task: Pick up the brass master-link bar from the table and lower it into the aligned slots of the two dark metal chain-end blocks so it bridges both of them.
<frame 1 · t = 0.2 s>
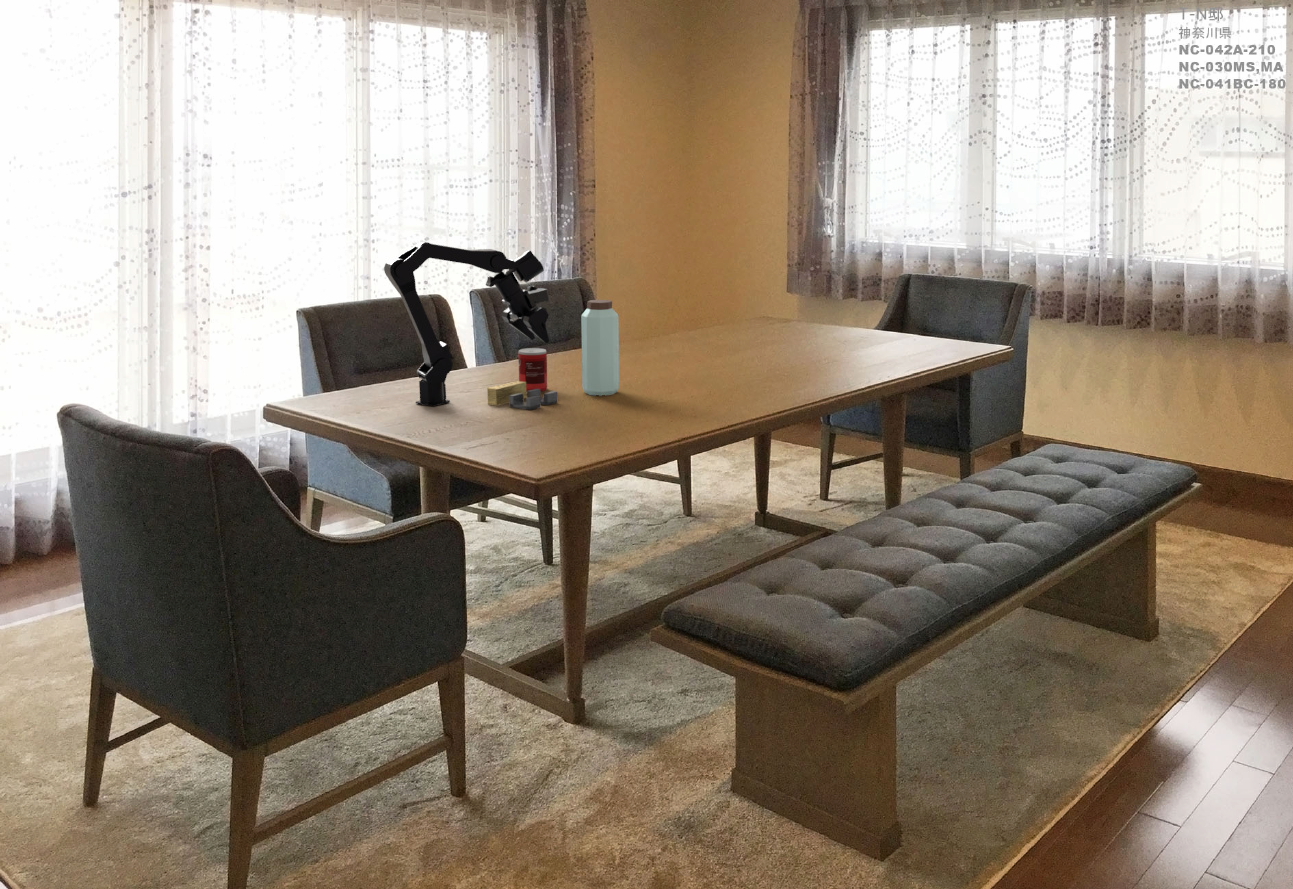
hand: (540, 340, 335), 14 cm above the table, tool tilted 30°, fingers open, 9 cm apart
canned food: (533, 390, 344), on the table
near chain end: (525, 407, 321), on the table
water bottle: (600, 393, 339), on the table
master link: (507, 401, 329), on the table
far chain end: (542, 402, 327), on the table
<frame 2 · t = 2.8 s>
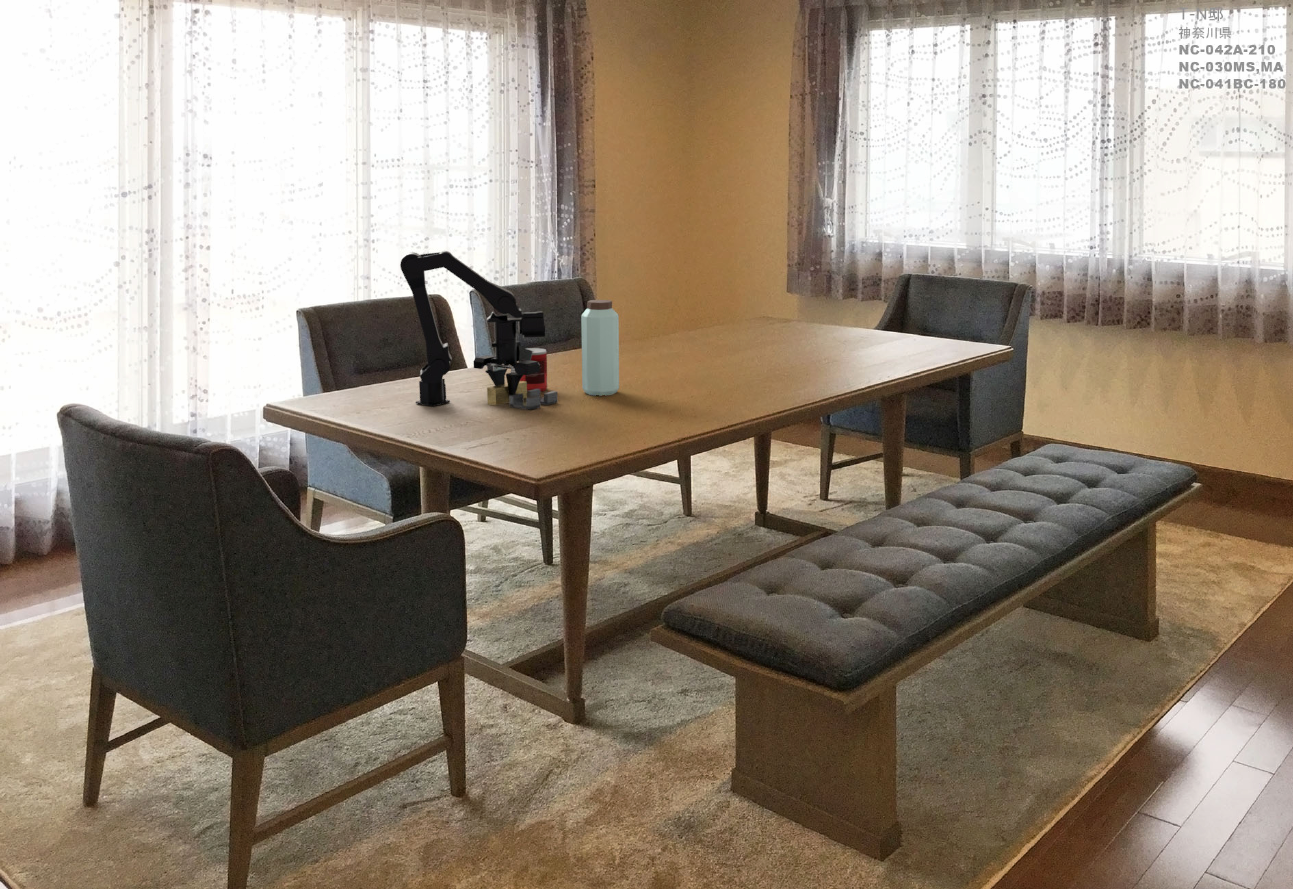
hand: (507, 397, 329), 1 cm above the table, tool pointing down, fingers closed on master link, 3 cm apart
master link: (507, 401, 329), on the table, touching gripper
everything else where it was.
when the fingers open (4 cm above the table, at t = 6.1 s): master link drops 2 cm, resting on far chain end, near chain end.
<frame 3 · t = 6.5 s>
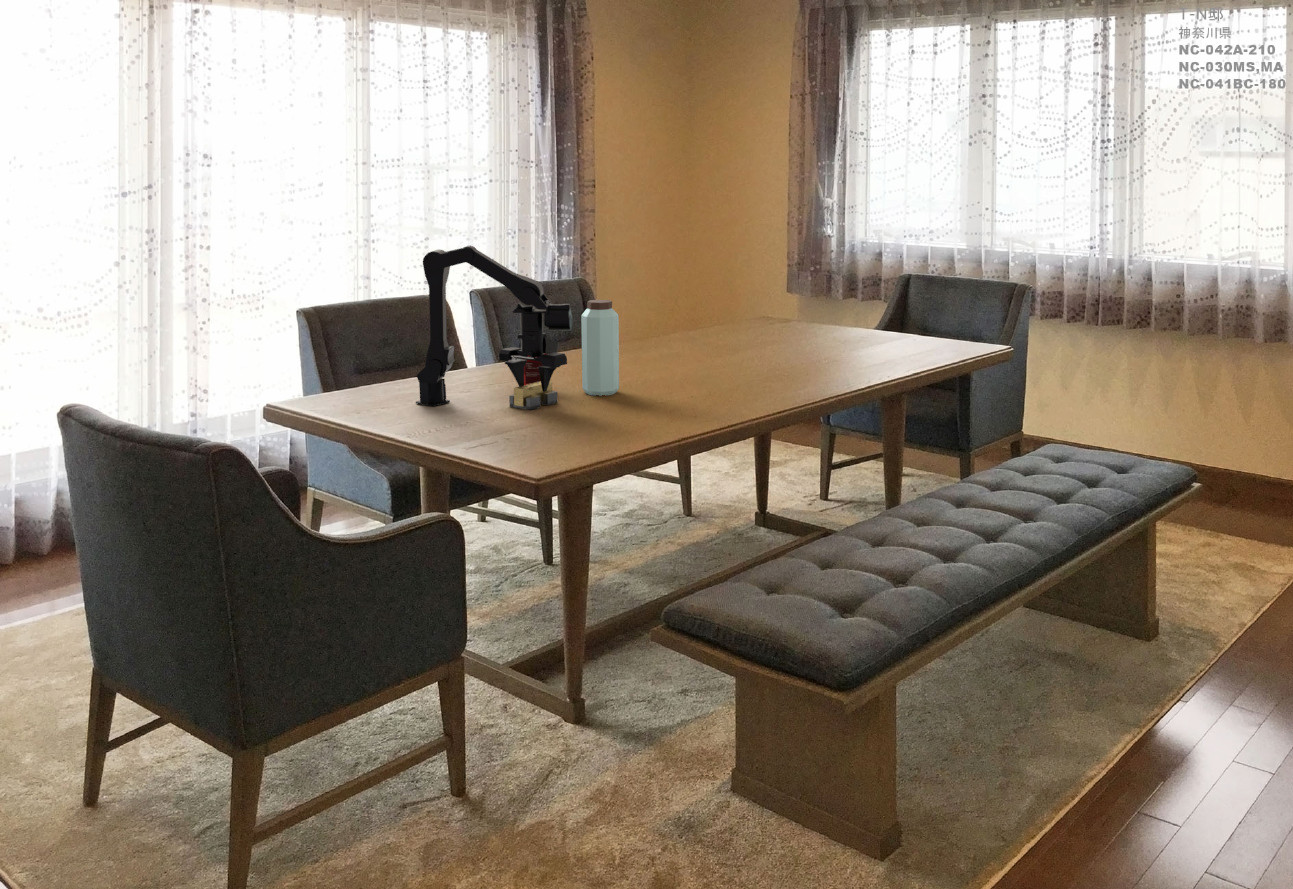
hand: (533, 389, 323), 4 cm above the table, tool pointing down, fingers open, 7 cm apart
master link: (533, 401, 324), point 1 cm above the table, touching far chain end, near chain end
everything else where it was.
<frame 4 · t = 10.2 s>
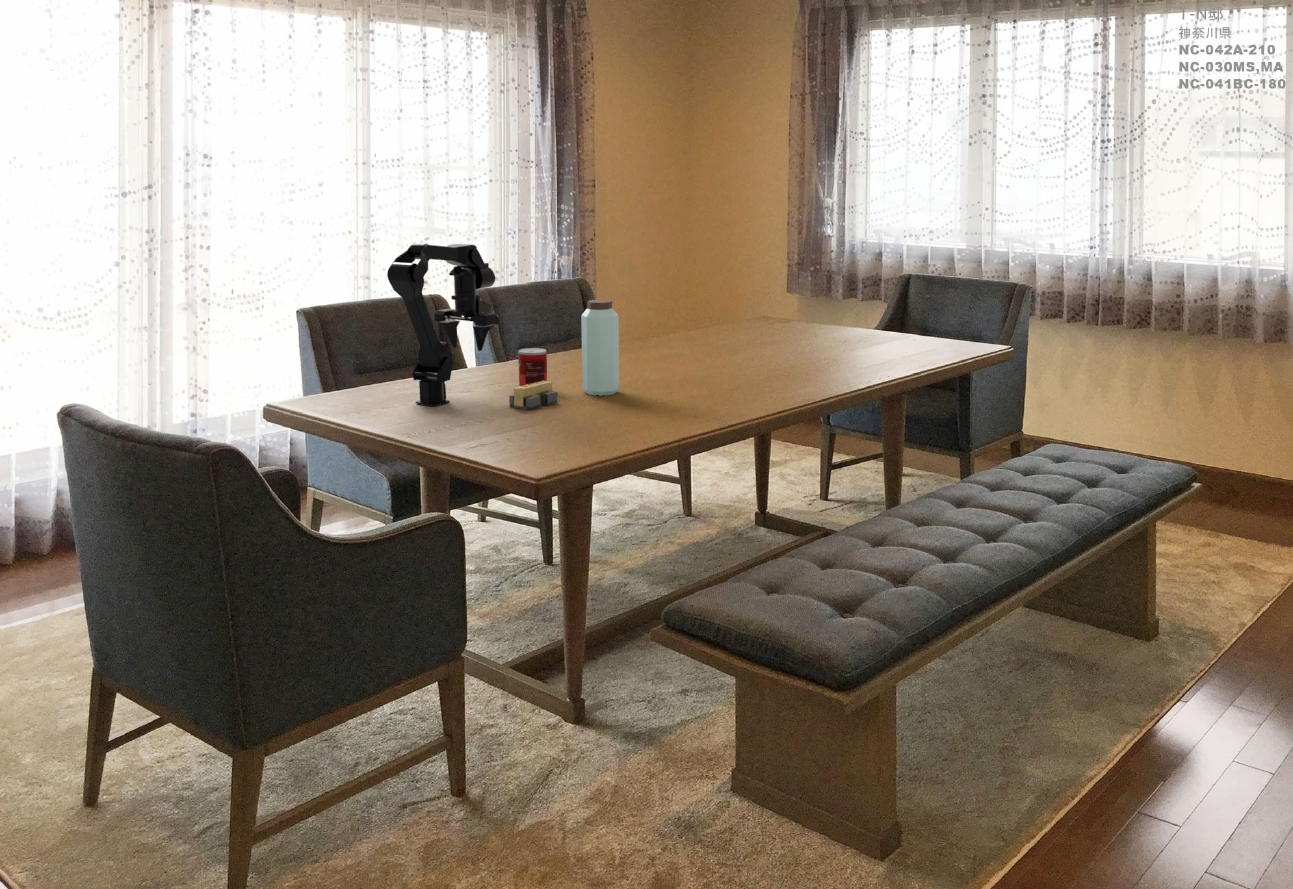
hand: (467, 349, 337), 12 cm above the table, tool pointing down, fingers open, 9 cm apart
nothing on the table moved.
at the end: master link 0.1 cm from the target spot, point 0.8 cm above the table; master link tilted 0°; the gripper is holding nothing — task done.
